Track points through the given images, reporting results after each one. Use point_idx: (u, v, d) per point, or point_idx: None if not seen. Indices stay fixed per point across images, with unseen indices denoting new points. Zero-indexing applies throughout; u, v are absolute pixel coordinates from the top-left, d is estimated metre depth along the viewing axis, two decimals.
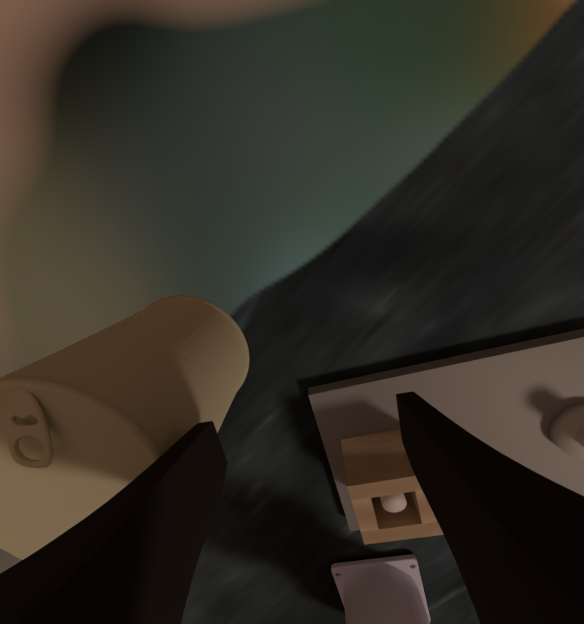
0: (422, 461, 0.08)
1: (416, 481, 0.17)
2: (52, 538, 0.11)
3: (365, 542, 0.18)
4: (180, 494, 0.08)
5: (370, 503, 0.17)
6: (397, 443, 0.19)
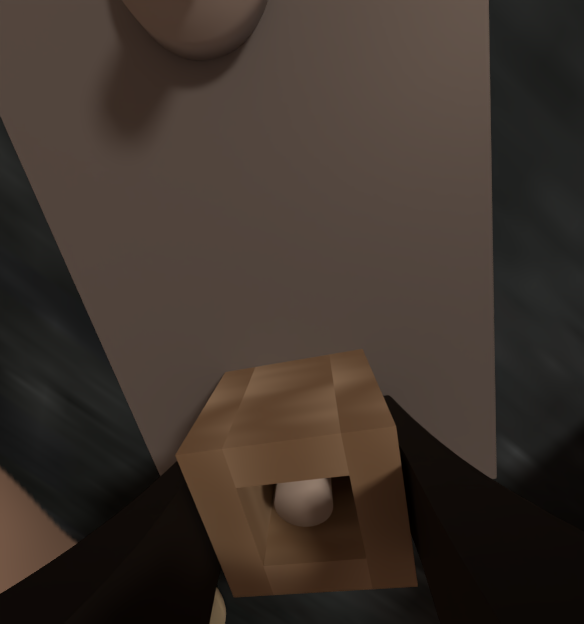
0: None
1: (204, 485, 0.07)
2: None
3: (410, 584, 0.07)
4: None
5: (280, 566, 0.07)
6: None
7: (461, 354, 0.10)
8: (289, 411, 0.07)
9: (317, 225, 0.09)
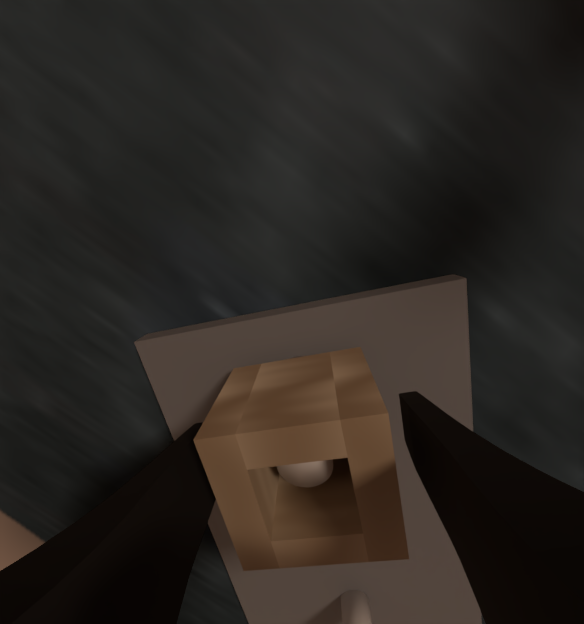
0: (426, 461, 0.08)
1: (219, 467, 0.08)
2: None
3: (402, 557, 0.08)
4: (176, 494, 0.08)
5: (286, 541, 0.08)
6: None
7: (458, 572, 0.15)
8: (294, 402, 0.08)
9: None
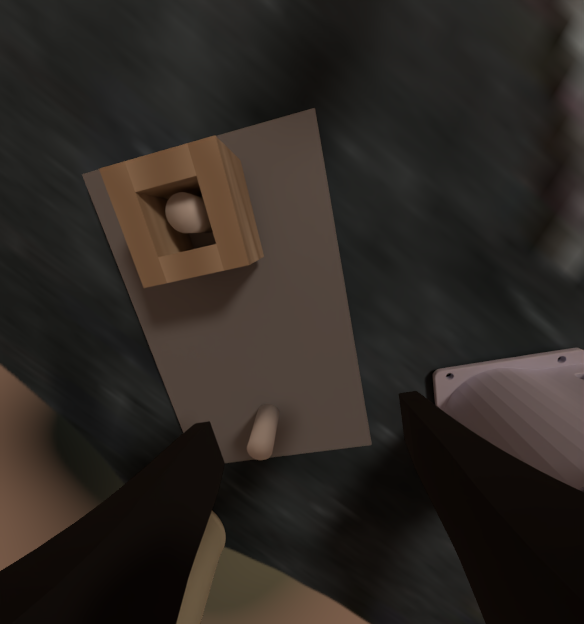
0: (426, 461, 0.08)
1: (117, 191, 0.12)
2: None
3: (244, 263, 0.12)
4: (176, 494, 0.08)
5: (168, 256, 0.12)
6: None
7: (344, 379, 0.19)
8: None
9: (269, 319, 0.18)
